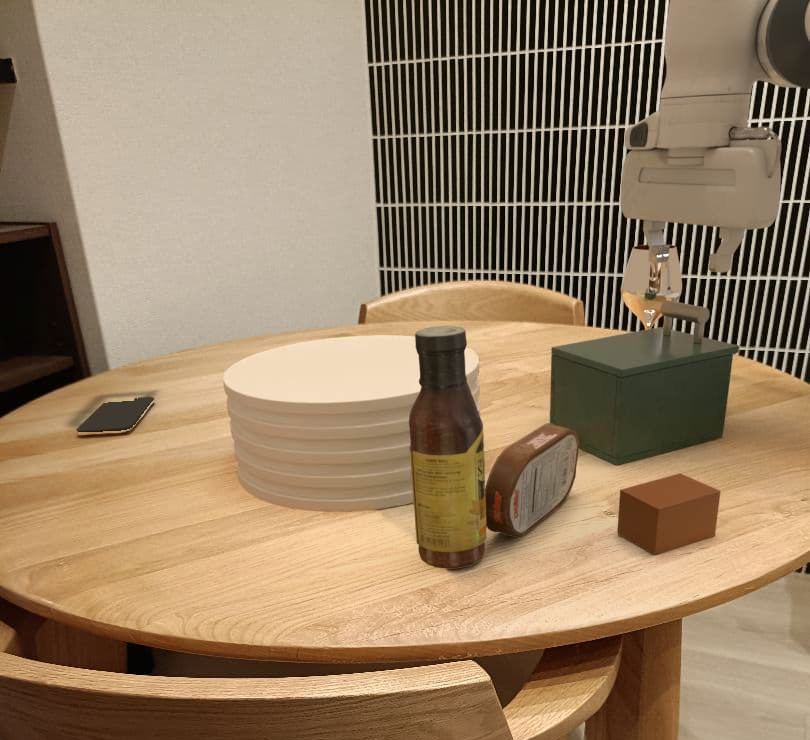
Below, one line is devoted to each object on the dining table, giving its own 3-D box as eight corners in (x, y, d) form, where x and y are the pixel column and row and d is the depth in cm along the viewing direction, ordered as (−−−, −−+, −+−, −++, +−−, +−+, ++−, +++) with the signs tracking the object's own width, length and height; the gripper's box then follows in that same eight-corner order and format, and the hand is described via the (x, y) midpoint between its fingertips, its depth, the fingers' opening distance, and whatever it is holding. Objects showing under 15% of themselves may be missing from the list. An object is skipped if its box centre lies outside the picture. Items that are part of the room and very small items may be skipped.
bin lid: (660, 333, 102) (663, 293, 100) (738, 352, 91) (744, 309, 89) (551, 354, 96) (552, 312, 93) (621, 377, 85) (624, 331, 83)
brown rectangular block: (675, 516, 78) (680, 472, 76) (715, 535, 73) (721, 490, 72) (616, 533, 75) (619, 489, 73) (654, 555, 71) (658, 509, 69)
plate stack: (450, 413, 109) (448, 326, 104) (510, 493, 84) (510, 384, 79) (239, 436, 106) (225, 347, 101) (236, 526, 81) (218, 415, 76)
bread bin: (649, 410, 106) (655, 334, 101) (723, 437, 96) (733, 354, 91) (549, 434, 100) (551, 354, 96) (616, 465, 90) (621, 377, 85)
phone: (156, 396, 122) (129, 427, 108) (157, 401, 122) (130, 433, 109) (106, 399, 122) (73, 431, 108) (107, 404, 122) (74, 437, 109)
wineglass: (636, 366, 125) (645, 242, 117) (684, 374, 120) (697, 244, 112) (604, 378, 120) (611, 249, 112) (653, 387, 115) (664, 252, 107)
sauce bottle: (497, 565, 71) (496, 334, 62) (429, 578, 69) (417, 344, 61) (471, 534, 76) (466, 318, 68) (407, 545, 75) (393, 327, 66)
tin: (554, 489, 85) (556, 410, 81) (582, 494, 83) (586, 415, 79) (479, 546, 74) (478, 459, 70) (510, 554, 72) (510, 465, 69)
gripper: (806, 124, 78) (783, 274, 84) (658, 129, 95) (648, 254, 101) (758, 127, 76) (738, 281, 82) (614, 132, 92) (607, 260, 99)
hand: (687, 266), depth 92 cm, fingers open, 8 cm apart
